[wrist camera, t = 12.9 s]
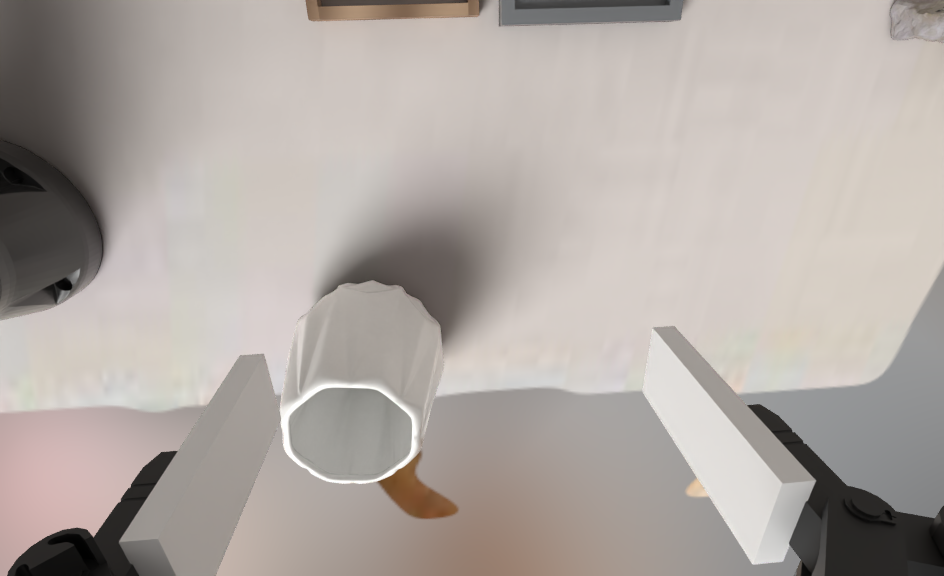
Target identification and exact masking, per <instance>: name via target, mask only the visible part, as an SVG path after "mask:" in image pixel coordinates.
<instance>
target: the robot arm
mask: <svg viewBox="0 0 944 576" xmlns="http://www.w3.org/2000/svg"><path fill="white" fill-rule="evenodd" d="M101 258H102V240H101V234H100V230H99V227H98V224H97V221H96V219H95V217H94V215H93V213H92V211H91V209H90V207H89V205H88V204H87V202H86V201H85V199H84V198H83V196H82V195H81V194H80V193H79V191H78V190H77V189H76V188H75V187H74V186H73V184H72V183H71V182H70V181H69V180H68V179H67V178H66V177H64V176H63V175H62V174H61V173H60V172H59V171H58V170H56V169H55V168H54V167H53V166H51V165H50V164H49V163H47V162H46V161H44V160H43V159H41V158H40V157H38V156H36V155H34V154H33V153H31V152H29V151H27V150H25V149H23V148H21V147H18V146H16V145H14V144H11V143H8V142H5V141H2V140H0V320H5V319H9V318H14V317H18V316H23V315H27V314H31V313H36V312H40V311H44V310H47V309H50V308H52V307H55V306H57V305H59V304H61V303H63V302H65V301H66V300H68V299H69V298H71V297H72V296H74V295H75V294H77V293H79V292H80V291H82V290H83V289H84V288H85V287H86V286H87V285H88V284H89V283H90V282H91V281H92V280H93V278H94V277H95V275H96V273H97V271H98V269H99V266H100V263H101ZM642 392H643V393H644V395H645V396H646V398H647V400H648V401H649V403H650V404H651V406H652V408H653V409H654V411H655V412H656V414H657V415H658V417H659V418H660V420H661V422H662V423H663V425H664V426H665V428H666V429H667V431H668V433H669V434H670V436H671V437H672V439H673V440H674V442H675V444H676V445H677V447H678V448H679V450H680V451H681V453H682V454H683V456H684V458H685V459H686V460H687V462H688V464H689V465H690V467H691V468H692V470H693V472H694V473H695V475H696V476H697V478H698V480H699V481H700V483H701V484H702V486H703V487H704V489H705V491H706V492H707V494H708V495H709V497H710V498H711V500H712V501H713V503H714V505H715V506H716V508H717V509H718V511H719V512H720V514H721V516H722V517H723V519H724V520H725V522H726V523H727V525H728V527H729V528H730V530H731V531H732V533H733V534H734V536H735V537H736V539H737V540H738V542H739V544H740V545H741V547H742V548H743V550H744V552H745V553H746V555H747V556H748V558H749V559H750V561H751V563H752V564H762V563H773V562H783V560H784V558H785V555H786V553H787V550H788V548H789V545H790V546H791V547H792V548H793V550H794V551H795V552H796V554H797V555H798V556H799V558H800V559H801V561H800V563H799V566H798V568H797V570H796V572H795V575H794V576H944V506H943V507H942V508H941V510H940V511H939V513H938V515H937V516H936V518H929V517H923V516H918V515H913V514H907V513H901V512H896V511H895V510H894V509H893V508H892V507H891V506H890V505H889V504H888V503H886V502H885V501H883V500H882V499H881V498H879V497H878V496H876V495H873V494H871V493H869V492H867V491H865V490H862V489H858V488H855V487H851V486H847V485H846V484H845V483H844V482H842V480H841V479H840V478H839V477H838V476H837V475H836V474H835V473H834V472H833V471H832V470H831V469H830V468H829V467H828V466H827V465H826V464H825V463H824V462H823V461H822V460H821V459H820V458H819V457H818V456H817V455H816V454H815V453H814V452H813V451H812V450H811V449H810V448H809V447H808V446H807V444H804V443H803V440H802V439H801V438H800V437H799V436H798V435H796V433H795V432H794V433H793V432H792V429H791V428H790V427H789V426H788V425H787V424H786V423H785V422H784V421H783V420H782V419H781V418H780V417H779V416H778V415H776V414H775V413H773V412H771V411H770V410H768V409H767V408H765V407H763V406H762V405H760V404H757V405H746V404H745V403H744V402H743V400H742V399H741V398H740V397H739V396H738V395H737V394H736V393H735V392H734V391H733V390H732V389H731V387H730V386H729V385H728V384H727V383H726V382H725V381H724V380H723V379H722V378H721V377H720V375H719V374H718V373H717V372H716V371H715V370H714V369H713V368H712V367H711V366H710V365H709V363H708V362H707V361H706V360H705V359H704V358H703V357H702V356H701V355H700V354H699V353H698V351H697V350H696V349H695V348H694V347H693V346H692V345H691V344H690V343H689V342H688V341H687V339H686V338H685V337H684V336H683V335H682V334H681V333H680V332H679V331H678V330H677V329H676V327H675V326H669V327H654V328H653V329H652V335H651V341H650V347H649V354H648V360H647V366H646V372H645V378H644V384H643V390H642ZM280 421H281V415H280V412H279V408H278V404H277V400H276V397H275V393H274V389H273V386H272V382H271V378H270V374H269V371H268V367H267V363H266V360H265V356H264V354H254V355H240V356H239V358H238V359H237V361H236V362H235V364H234V366H233V367H232V369H231V370H230V372H229V373H228V375H227V376H226V378H225V379H224V381H223V382H222V384H221V386H220V387H219V389H218V390H217V392H216V393H215V395H214V396H213V398H212V399H211V401H210V402H209V404H208V406H207V407H206V409H205V410H204V412H203V413H202V415H201V416H200V418H199V419H198V421H197V422H196V424H195V425H194V427H193V429H192V430H191V432H190V433H189V435H188V436H187V438H186V439H185V441H184V442H183V444H182V445H181V447H180V449H179V450H178V451H170V452H161V453H160V454H159V455H158V456H156V457H155V458H154V459H153V460H152V461H151V462H149V463H148V464H147V465H146V466H145V467H143V469H142V470H141V471H140V473H139V474H138V476H137V477H136V478H135V480H134V481H133V483H132V484H131V488H128V490H127V491H126V492H125V494H124V495H123V497H122V498H121V502H120V503H118V504H117V505H116V507H115V508H114V509H113V511H112V512H111V514H110V515H109V516H108V518H107V519H106V521H105V522H104V523H103V525H102V526H101V528H100V529H99V530H98V532H97V533H96V535H95V536H94V537H92V535H91V534H90V533H89V532H88V530H86V529H81V528H72V529H66V530H62V531H60V532H57V533H54V534H52V535H50V536H47V537H45V538H44V539H42V540H41V541H39V542H37V543H36V544H34V545H33V546H31V547H30V548H29V549H28V550H27V551H26V552H25V553H23V554H22V555H21V556H20V557H19V558H18V559H17V560H16V561H15V563H14V564H13V566H12V567H11V569H10V570H9V571H8V575H7V576H216V574H217V571H218V569H219V566H220V564H221V562H222V559H223V557H224V555H225V552H226V549H227V547H228V545H229V543H230V540H231V538H232V535H233V533H234V531H235V528H236V526H237V524H238V521H239V519H240V516H241V514H242V512H243V509H244V507H245V504H246V502H247V500H248V497H249V495H250V493H251V490H252V488H253V485H254V483H255V480H256V478H257V476H258V473H259V471H260V469H261V466H262V464H263V462H264V459H265V456H266V454H267V452H268V450H269V447H270V445H271V442H272V440H273V438H274V435H275V433H276V431H277V428H278V426H279V423H280Z"/></svg>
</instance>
